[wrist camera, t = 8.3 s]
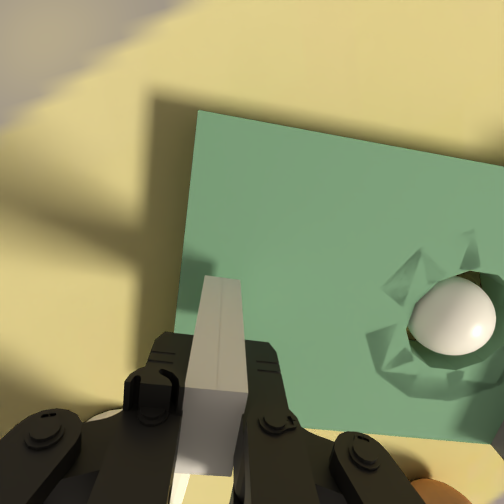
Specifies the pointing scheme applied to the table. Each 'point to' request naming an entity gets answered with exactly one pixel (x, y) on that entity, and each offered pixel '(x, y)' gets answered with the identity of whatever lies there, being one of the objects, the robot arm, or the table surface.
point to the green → (349, 272)
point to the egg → (438, 492)
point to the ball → (453, 317)
